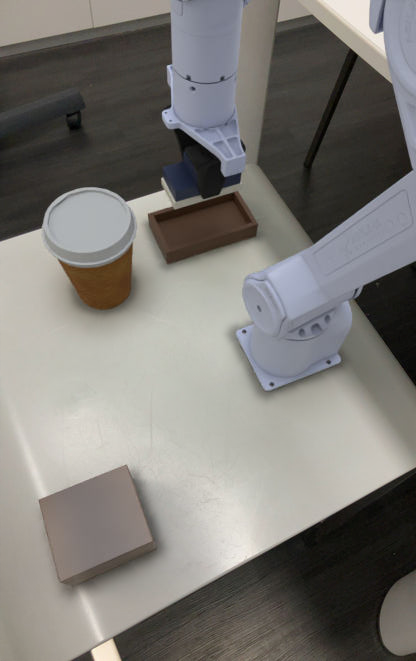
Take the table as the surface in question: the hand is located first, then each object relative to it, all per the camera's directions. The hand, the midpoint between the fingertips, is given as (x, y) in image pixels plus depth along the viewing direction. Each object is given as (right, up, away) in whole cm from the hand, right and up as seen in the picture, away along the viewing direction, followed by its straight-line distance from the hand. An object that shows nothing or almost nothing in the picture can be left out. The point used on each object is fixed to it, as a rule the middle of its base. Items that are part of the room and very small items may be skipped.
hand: (202, 180), depth 56 cm
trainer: (0, -1, +1) cm, 1 cm away
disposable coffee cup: (-12, -11, +5) cm, 17 cm away
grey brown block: (-9, -35, -8) cm, 37 cm away
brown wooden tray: (0, -4, +10) cm, 10 cm away
